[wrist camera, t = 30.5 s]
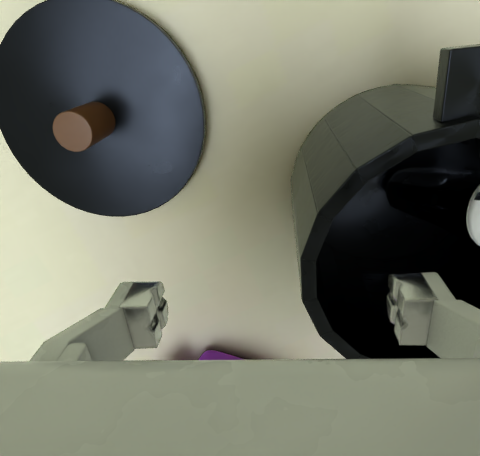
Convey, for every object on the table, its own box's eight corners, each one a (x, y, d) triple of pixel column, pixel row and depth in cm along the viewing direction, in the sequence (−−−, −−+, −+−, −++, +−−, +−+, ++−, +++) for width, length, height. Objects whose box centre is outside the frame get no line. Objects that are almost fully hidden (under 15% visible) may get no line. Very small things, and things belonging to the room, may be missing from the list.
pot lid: (187, -20, 24) (167, -33, 20) (219, 204, 31) (210, 233, 27) (-33, 12, 26) (-99, 6, 22) (43, 216, 33) (6, 245, 29)
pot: (515, 27, 24) (721, 21, 13) (465, 286, 33) (563, 414, 22) (284, 54, 26) (291, 67, 15) (296, 292, 35) (306, 414, 24)
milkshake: (386, 143, 27) (522, 150, 18) (439, 172, 29) (587, 192, 19) (358, 202, 27) (477, 239, 18) (412, 227, 29) (544, 272, 20)
